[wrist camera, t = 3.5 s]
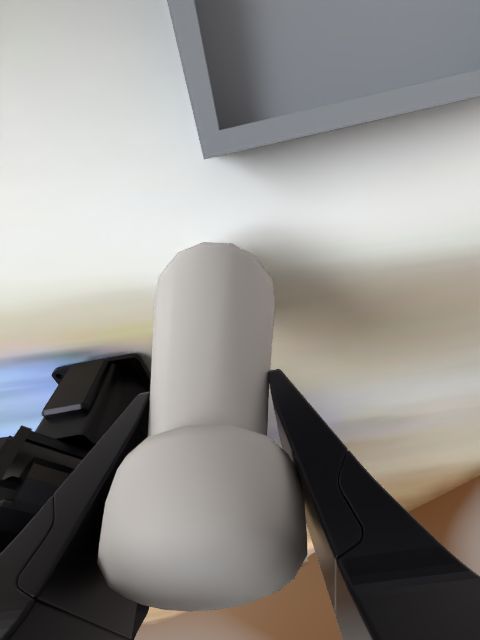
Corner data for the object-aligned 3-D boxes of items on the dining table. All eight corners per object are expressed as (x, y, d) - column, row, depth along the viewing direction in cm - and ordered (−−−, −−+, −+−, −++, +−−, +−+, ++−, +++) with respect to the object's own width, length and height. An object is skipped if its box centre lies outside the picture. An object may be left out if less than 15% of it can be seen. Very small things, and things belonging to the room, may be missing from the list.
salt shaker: (286, 290, 17) (406, 594, 6) (208, 337, 18) (189, 642, 7) (227, 203, 14) (246, 486, 3) (141, 268, 15) (-49, 601, 5)
